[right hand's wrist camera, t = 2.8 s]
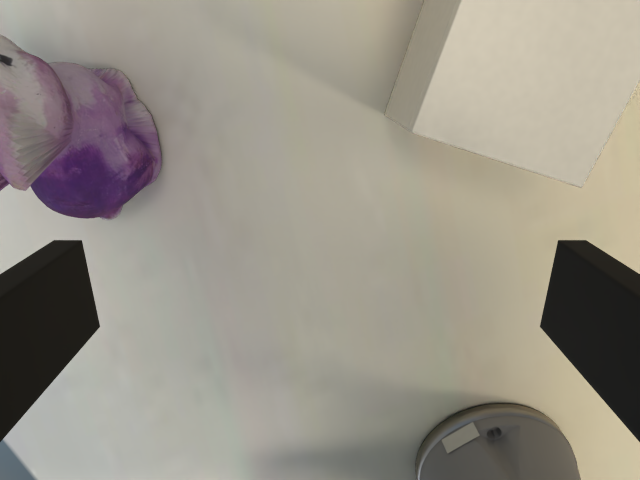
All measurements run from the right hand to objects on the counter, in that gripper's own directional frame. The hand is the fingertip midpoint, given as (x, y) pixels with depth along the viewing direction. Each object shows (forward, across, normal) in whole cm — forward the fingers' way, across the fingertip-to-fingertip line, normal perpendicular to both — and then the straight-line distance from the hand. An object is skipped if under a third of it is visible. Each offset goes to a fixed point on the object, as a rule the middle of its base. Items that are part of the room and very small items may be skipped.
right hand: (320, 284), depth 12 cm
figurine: (+22, +16, -2) cm, 28 cm away
